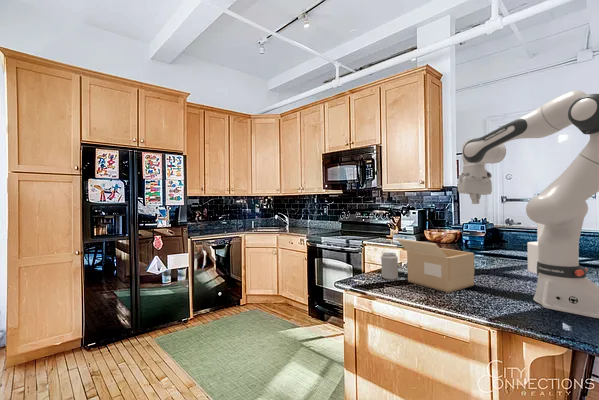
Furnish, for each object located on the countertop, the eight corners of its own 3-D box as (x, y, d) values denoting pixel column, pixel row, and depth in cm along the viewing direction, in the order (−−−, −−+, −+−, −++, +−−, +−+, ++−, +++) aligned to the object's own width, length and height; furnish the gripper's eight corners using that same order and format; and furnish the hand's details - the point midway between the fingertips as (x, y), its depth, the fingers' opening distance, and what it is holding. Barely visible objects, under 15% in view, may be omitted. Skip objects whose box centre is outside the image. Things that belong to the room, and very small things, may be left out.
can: (394, 281, 144) (394, 255, 144) (379, 278, 148) (378, 253, 148) (400, 277, 150) (399, 252, 150) (385, 275, 154) (384, 251, 154)
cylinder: (555, 268, 162) (554, 214, 162) (582, 276, 145) (581, 216, 145) (520, 267, 164) (519, 214, 164) (542, 276, 147) (541, 216, 146)
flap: (435, 243, 122) (435, 244, 121) (446, 256, 125) (446, 257, 125) (397, 238, 138) (396, 239, 138) (407, 249, 142) (407, 251, 141)
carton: (476, 285, 134) (475, 253, 134) (449, 293, 124) (448, 258, 124) (432, 275, 152) (432, 246, 152) (406, 281, 143) (405, 250, 142)
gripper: (466, 171, 136) (467, 202, 135) (493, 174, 146) (495, 204, 144) (453, 173, 142) (454, 203, 140) (480, 176, 151) (482, 204, 150)
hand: (475, 203), depth 142 cm, fingers closed
